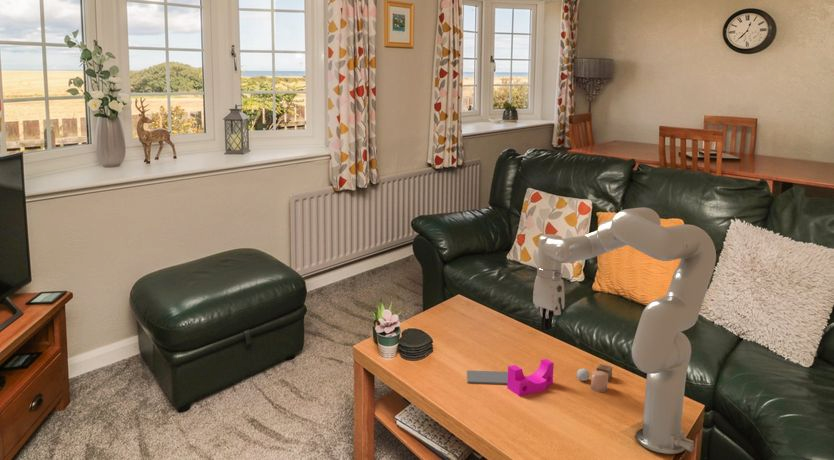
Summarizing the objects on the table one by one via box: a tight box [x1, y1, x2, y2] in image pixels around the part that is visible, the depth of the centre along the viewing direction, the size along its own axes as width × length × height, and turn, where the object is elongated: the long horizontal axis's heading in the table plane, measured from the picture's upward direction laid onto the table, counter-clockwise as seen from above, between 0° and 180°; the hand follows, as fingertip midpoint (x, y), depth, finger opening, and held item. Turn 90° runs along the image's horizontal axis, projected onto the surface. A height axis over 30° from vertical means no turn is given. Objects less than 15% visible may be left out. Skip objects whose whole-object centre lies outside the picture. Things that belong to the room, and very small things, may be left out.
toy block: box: [506, 358, 555, 397], centre depth 182 cm, size 15×6×8 cm, turn 117°
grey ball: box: [576, 368, 590, 382], centre depth 188 cm, size 4×4×4 cm
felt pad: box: [466, 370, 508, 386], centre depth 189 cm, size 17×9×1 cm, turn 86°
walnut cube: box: [596, 363, 613, 383], centre depth 190 cm, size 4×4×4 cm
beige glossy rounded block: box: [590, 370, 609, 393], centre depth 182 cm, size 5×5×5 cm
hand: (546, 328), depth 186 cm, fingers closed
